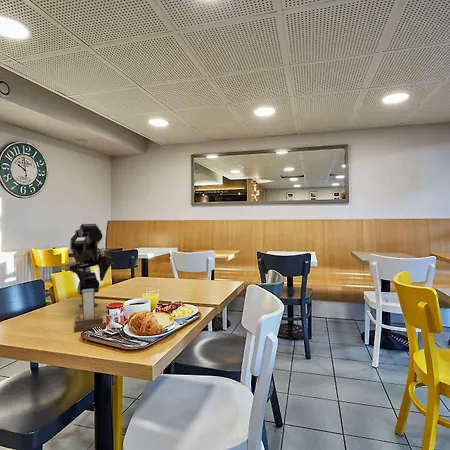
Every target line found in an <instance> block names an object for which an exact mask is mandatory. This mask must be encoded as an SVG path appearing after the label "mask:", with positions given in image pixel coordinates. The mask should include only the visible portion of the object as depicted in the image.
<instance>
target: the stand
mask: <svg viewBox="0 0 450 450" xmlns="http://www.w3.org/2000/svg"><path fill="white" fill-rule="evenodd" d="M80 316H81V314H76V315H75V319H74V327H73V332H74V333H78V332H85V331H89V330H88V329H91V328H95V327H100V328H99V329H104V328H105V325H104V323H105V321H104V318H103V314H102V311H97V315H95V319H88V320H83V317H80Z"/></svg>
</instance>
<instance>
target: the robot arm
mask: <svg viewBox="0 0 450 450" xmlns="http://www.w3.org/2000/svg"><path fill="white" fill-rule="evenodd" d="M79 238H84V240H83V239H82V240H80V239H79ZM77 239H79V240H77ZM102 239H103V233H102V230H101V229H100V228H99V225H97V224H96V223H81V225H80V226H79V229H77V230H76V229H75V231H74V235H73V236H72V237H71V238H70V243H69V249H70V250H71V252H72V254H73V255H74V260H75V263H74V264H71V265H70V266H69V272H71V273H74V274H75V275H77V278H78V280H79V281H78V285H77V294H78V295H79V296H81V304H78V305H79V307H81V308H83V296H82V291H83V289H93V288H94V307H95V306H96V307H97V306H98V303H96V300H95V299H96V296H95V293H99V291H100V282H103V281H104V278H105V276H106V274H107V272H108V270H109V268H110V267H112V265H114V258H113V257H111V256H109V255H103V256H99V255H100V254H101V251H99V244H100V242H101V240H102ZM95 266H97V267H98V269H99V270H98V271H99V279H97V275H96V272H95V271H93V272H91V267H95ZM99 280H100V281H99Z"/></svg>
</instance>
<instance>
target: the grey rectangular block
mask: <svg viewBox="0 0 450 450" xmlns="http://www.w3.org/2000/svg"><path fill="white" fill-rule="evenodd" d="M82 296H83V307H82V318H83V320H88V319H95V316H96V315H95V314H96V313H95V306H94V288H93V289H83V291H82V295H81V297H82Z"/></svg>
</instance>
